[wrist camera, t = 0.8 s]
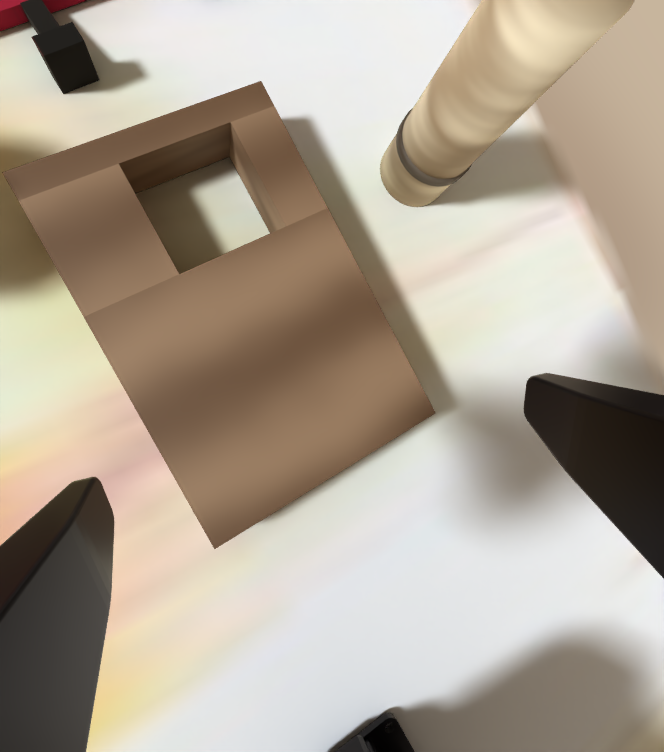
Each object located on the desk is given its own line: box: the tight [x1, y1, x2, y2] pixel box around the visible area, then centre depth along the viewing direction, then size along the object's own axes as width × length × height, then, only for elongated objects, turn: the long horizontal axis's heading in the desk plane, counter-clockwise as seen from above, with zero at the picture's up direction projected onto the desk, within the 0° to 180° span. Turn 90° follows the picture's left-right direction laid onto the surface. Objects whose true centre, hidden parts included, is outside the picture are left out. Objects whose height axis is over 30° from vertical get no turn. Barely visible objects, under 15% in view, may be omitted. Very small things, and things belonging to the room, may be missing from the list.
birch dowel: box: [380, 0, 634, 207], centre depth 20 cm, size 4×4×13 cm
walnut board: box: [2, 81, 435, 549], centre depth 22 cm, size 18×12×3 cm, turn 29°
